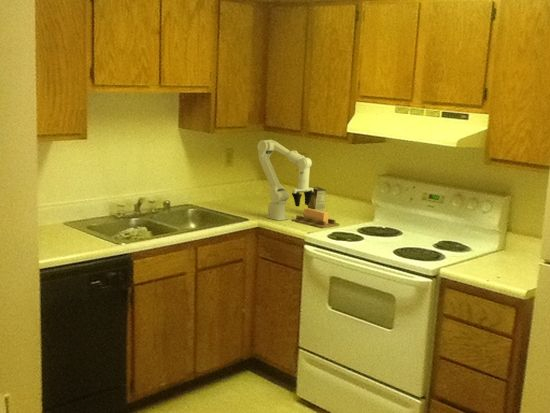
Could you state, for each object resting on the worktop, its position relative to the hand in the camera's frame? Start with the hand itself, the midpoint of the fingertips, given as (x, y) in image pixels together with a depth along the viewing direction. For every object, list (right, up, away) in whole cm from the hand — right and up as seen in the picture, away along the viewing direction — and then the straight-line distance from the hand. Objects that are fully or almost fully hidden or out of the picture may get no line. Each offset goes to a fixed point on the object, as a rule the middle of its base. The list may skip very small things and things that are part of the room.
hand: (302, 205), depth 380 cm
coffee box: (+8, -6, +22) cm, 24 cm away
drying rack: (+7, -10, +3) cm, 12 cm away
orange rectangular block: (+7, -9, +2) cm, 11 cm away
